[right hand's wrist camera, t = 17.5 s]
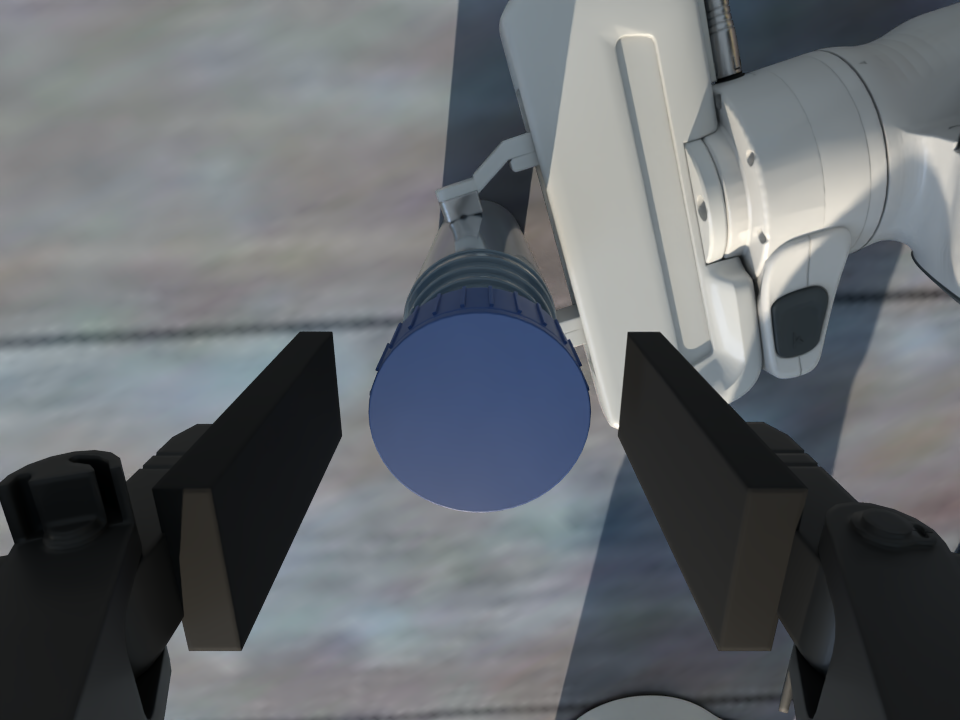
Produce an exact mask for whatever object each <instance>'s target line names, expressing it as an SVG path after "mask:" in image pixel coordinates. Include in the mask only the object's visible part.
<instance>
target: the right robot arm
mask: <svg viewBox="0 0 960 720" xmlns="http://www.w3.org/2000/svg"><path fill="white" fill-rule="evenodd" d="M341 437H342V429H341V418H340V408H339V397H338V386H337V376H336V365H335V354H334V343H333V333H332V332H299V333H298V334H297V335H296V336H295V337H294V339H293V340H292V341H291V342H290V343H289V344H288V345H287V346H286V347H285V348H284V349H283V350H282V351H281V352H280V353H279V354H278V355H277V356H276V358H275V359H274V360H273V361H272V362H271V363H270V364H269V365H268V366H267V367H266V368H265V369H264V370H263V371H262V372H261V373H260V374H259V376H258V377H257V378H256V379H255V380H254V381H253V382H252V383H251V384H250V385H249V386H248V387H247V388H246V389H245V390H244V391H243V392H242V394H241V395H240V396H239V397H238V398H237V399H236V400H235V401H234V402H233V403H232V404H231V405H230V406H229V407H228V408H227V409H226V410H225V412H224V413H223V414H222V415H221V416H220V417H219V418H218V419H217V420H216V421H215V422H214V423H213V424H196V425H194V426H193V427H191V428H189V429H187V430H185V431H183V432H181V433H179V434H177V435H176V436H174V437H172V438H171V439H170V440H169V441H168V442H167V443H166V444H165V445H164V446H163V447H162V448H161V449H160V450H159V451H158V452H157V453H156V456H152V457H151V458H150V459H149V460H148V461H147V462H146V463H145V464H144V465H143V469H139V470H138V471H137V472H136V473H135V474H134V475H133V476H132V477H131V478H129V479H128V480H127V481H126V480H125V476H124V472H123V468H122V464H121V460H120V458H119V457H117V456H116V455H114V454H113V453H111V452H105V451H98V450H90V451H76V452H70V453H65V454H61V455H56V456H52V457H48V458H46V459H43V460H40V461H37V462H34V463H32V464H29V465H27V466H25V467H23V468H21V469H19V470H17V471H15V472H14V473H12V474H10V475H8V476H7V477H6V478H5V479H4V480H2V481H1V482H0V502H1V505H2V508H3V511H4V514H5V517H6V520H7V523H8V526H9V529H10V532H11V534H12V537H13V540H14V543H15V544H14V546H13V547H12V549H11V551H10V552H9V554H8V555H6V556H1V557H0V720H164V716H165V710H166V703H167V696H168V690H169V683H170V676H171V665H170V658H169V654H168V650H167V646H166V645H167V643H168V641H169V640H170V638H171V637H172V635H173V633H174V632H175V630H176V629H177V627H178V625H179V624H180V622H181V621H182V623H183V627H184V631H185V636H186V640H187V645H188V649H189V651H242V649H243V646H244V644H245V642H246V640H247V638H248V636H249V634H250V631H251V629H252V627H253V625H254V623H255V621H256V619H257V617H258V614H259V612H260V610H261V608H262V606H263V604H264V602H265V599H266V597H267V595H268V593H269V591H270V589H271V587H272V584H273V582H274V580H275V578H276V576H277V574H278V572H279V570H280V567H281V565H282V563H283V561H284V559H285V557H286V555H287V552H288V550H289V548H290V546H291V544H292V542H293V540H294V537H295V535H296V533H297V531H298V529H299V527H300V525H301V523H302V520H303V518H304V516H305V514H306V512H307V510H308V508H309V505H310V503H311V501H312V499H313V497H314V495H315V493H316V490H317V488H318V486H319V484H320V482H321V480H322V478H323V476H324V473H325V471H326V469H327V467H328V465H329V463H330V461H331V458H332V456H333V454H334V452H335V450H336V448H337V446H338V444H339V441H340V439H341ZM618 437H619V439H620V441H621V444H622V446H623V448H624V450H625V452H626V454H627V456H628V458H629V461H630V463H631V465H632V467H633V469H634V471H635V473H636V476H637V478H638V480H639V482H640V484H641V486H642V488H643V490H644V493H645V495H646V497H647V499H648V501H649V503H650V505H651V508H652V510H653V512H654V514H655V516H656V518H657V520H658V523H659V525H660V527H661V529H662V531H663V533H664V535H665V537H666V540H667V542H668V544H669V546H670V548H671V550H672V552H673V555H674V557H675V559H676V561H677V563H678V565H679V567H680V570H681V572H682V574H683V576H684V578H685V580H686V582H687V584H688V587H689V589H690V591H691V593H692V595H693V597H694V599H695V602H696V604H697V606H698V608H699V610H700V612H701V614H702V617H703V619H704V621H705V623H706V625H707V627H708V629H709V631H710V634H711V636H712V638H713V640H714V642H715V644H716V646H717V649H718V651H771V649H772V645H773V640H774V636H775V631H776V627H777V623H778V618H779V619H780V621H781V622H782V624H783V625H784V627H785V629H786V630H787V632H788V633H789V635H790V637H791V638H792V640H793V641H794V646H793V650H792V654H791V658H790V662H789V666H788V670H787V674H786V678H785V682H784V686H783V690H782V695H781V699H780V706H779V711H781V712H784V713H788V710H789V706H790V702H791V700H792V699H793V701H794V708H795V715H796V720H960V554H958V553H953V552H951V551H950V550H949V548H948V546H947V544H946V543H945V542H944V541H943V540H942V538H941V537H940V536H939V535H938V534H937V533H936V532H935V531H934V530H933V529H931V528H930V527H928V526H927V525H925V524H924V523H922V522H920V521H919V520H917V519H916V518H913V517H911V516H909V515H906V514H904V513H902V512H899V511H897V510H895V509H891V508H887V507H883V506H880V505H876V504H872V503H860V502H858V501H857V500H855V499H854V498H853V497H852V496H851V495H850V494H849V493H848V492H847V491H846V490H845V489H844V488H843V487H842V486H841V485H840V484H839V483H838V482H837V481H836V480H835V479H833V478H832V477H831V476H830V475H829V474H828V473H827V472H826V471H825V470H824V469H823V468H822V467H818V465H817V462H816V461H815V460H814V459H812V458H811V457H810V456H809V455H808V454H807V453H804V450H803V449H802V448H801V447H800V446H799V445H798V444H797V443H796V442H795V441H794V440H793V439H792V438H790V437H789V436H788V435H787V434H785V433H783V432H781V431H779V430H777V429H775V428H774V427H772V426H770V425H768V424H766V423H764V422H745V421H744V420H743V419H742V418H741V417H740V416H739V415H738V414H737V413H736V412H735V410H734V409H733V408H732V407H731V406H730V405H729V404H728V403H727V402H726V401H725V400H724V399H723V398H722V397H721V396H720V395H719V394H718V392H717V391H716V390H715V389H714V388H713V387H712V386H711V385H710V384H709V383H708V382H707V381H706V380H705V379H704V378H703V377H702V376H701V374H700V373H699V372H698V371H697V370H696V369H695V368H694V367H693V366H692V365H691V364H690V363H689V362H688V361H687V360H686V359H685V358H684V356H683V355H682V354H681V353H680V352H679V351H678V350H677V349H676V348H675V347H674V346H673V345H672V344H671V343H670V342H669V341H668V340H667V339H666V337H665V336H664V335H663V334H662V333H661V332H628V333H627V343H626V354H625V365H624V376H623V386H622V397H621V408H620V418H619V429H618Z"/></svg>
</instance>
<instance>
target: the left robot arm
mask: <svg viewBox="0 0 960 720" xmlns="http://www.w3.org/2000/svg"><path fill="white" fill-rule="evenodd" d="M728 5H729V0H509V1H508V3H507V5H506V7H505V9H504V11H503V13H502V16H501V19H500V22H499V33H500V37H501V41H502V45H503V49H504V52H505V56H506V60H507V63H508V67H509V71H510V75H511V78H512V82H513V86H514V89H515V93H516V97H517V101H518V104H519V108H520V112H521V115H522V119H523V123H524V126H525V130H526V133H524V134H521V135H518V136H515V137H512V138H509V139H507V140H504V141H501V143H500V144H499V145H498V146H497V147H496V148H495V149H494V151H493V152H492V153H491V154H490V155H489V156H488V158H487V159H486V160H485V161H484V162H483V163H482V164H481V166H480V167H479V168H478V169H477V170H476V171H475V172H474V174H473V177H472V178H469V179H466V180H463V181H460V182H457V183H454V184H451V185H448V186H445V187H442V188H440V189H437V190H436V191H435V193H436V196H437V199H438V202H439V205H440V208H441V210H442V213H443V216H444V219H445V222H446V223H449V222H453V221H456V220H458V219H460V218H461V216H462V215H466V216H470V215H475V214H478V213H481V212H483V207H482V204H481V200H480V197H479V193H480V191H481V190H482V189H483V188H484V187H485V186H486V185H487V184H488V182H489V181H490V180H491V179H492V178H493V177H494V176H495V175H496V174H497V172H498V171H499V170H500V169H501V168H502V167H503V166H504V165H505V163H506V162H507V161H508V162H509V166H510V169H511V170H513V171H514V172H519V171H522V170H525V169H528V168H531V167H536V171H537V175H538V178H539V182H540V186H541V189H542V193H543V197H544V201H545V204H546V208H547V212H548V215H549V219H550V223H551V227H552V230H553V234H554V238H555V241H556V245H557V249H558V252H559V256H560V260H561V264H562V267H563V271H564V275H565V278H566V282H567V286H568V290H569V293H570V297H571V301H572V304H573V305H572V306H569V307H565V308H562V309H559V310H556V319H557V320H558V321H559V324H560V326H561V328H562V331H563V333H564V334H565V336H566V338H567V340H568V339H570V340H571V342H572V344H573V347H576V346H580V345H584V349H585V353H586V356H587V360H588V364H589V367H590V371H591V375H592V378H593V382H594V386H595V390H596V393H597V397H598V400H599V403H600V406H601V408H602V411H603V413H604V415H605V417H606V419H607V421H608V423H609V424H610V425H611V426H612V427H614V428H616V429H619V418H620V408H621V397H622V386H623V376H624V365H625V354H626V343H627V333H628V332H661V333H662V334H663V335H664V336H665V337H666V339H667V340H668V341H669V342H670V343H671V344H672V345H673V346H674V347H675V348H676V349H677V350H678V351H679V352H680V353H681V354H682V355H683V356H684V358H685V359H686V360H687V361H688V362H689V363H690V364H691V365H692V366H693V367H694V368H695V369H696V370H697V371H698V372H699V373H700V374H701V376H702V377H703V378H704V379H705V380H706V381H707V382H708V383H709V384H710V385H711V386H712V387H713V388H714V389H715V390H716V391H717V392H718V394H719V395H720V396H721V397H722V398H723V399H724V400H725V401H726V402H727V403H728V404H730V403H732V402H734V401H735V400H737V399H739V398H740V397H742V396H743V395H744V394H746V393H747V392H748V391H749V390H750V389H751V388H752V387H753V386H754V384H755V383H756V381H757V379H758V377H759V375H760V372H761V368H762V369H763V370H765V371H766V372H768V373H770V374H771V375H773V376H775V377H777V378H780V379H788V378H794V377H798V376H801V375H804V374H807V373H809V372H810V371H812V370H813V369H814V368H815V367H816V366H817V364H818V362H819V360H820V357H821V353H822V349H823V345H824V340H825V336H826V331H827V327H828V322H829V318H830V314H831V310H832V306H833V302H834V298H835V295H836V291H837V288H838V284H839V281H840V278H841V275H842V272H843V269H844V266H845V263H846V261H847V258H848V255H849V254H850V253H854V252H856V251H858V250H860V249H862V248H864V247H867V246H869V245H871V244H873V243H876V242H879V241H885V240H892V241H898V242H902V243H904V244H906V245H908V246H909V247H910V248H911V249H912V252H911V256H912V259H913V261H914V262H915V264H916V265H917V266H918V267H919V268H920V269H921V270H922V271H923V272H924V273H925V274H926V275H927V276H928V277H929V278H930V279H931V280H932V281H933V282H934V283H936V284H937V285H938V286H939V287H940V288H941V289H942V290H943V291H944V292H946V293H947V294H948V295H949V296H950V297H952V298H953V299H954V300H955V301H956V302H958V303H959V304H960V2H959V3H956V4H953V5H950V6H946V7H943V8H940V9H937V10H934V11H931V12H928V13H925V14H922V15H920V16H917V17H915V18H912V19H910V20H908V21H906V22H904V23H902V24H901V25H899V26H897V27H895V28H894V29H893V30H891V31H890V32H888V33H887V34H885V35H884V36H882V37H880V38H879V39H877V40H874V41H872V42H870V43H867V44H863V45H858V46H841V47H829V48H823V49H818V50H815V51H812V52H809V53H806V54H803V55H800V56H797V57H794V58H791V59H788V60H785V61H782V62H779V63H776V64H773V65H770V66H767V67H764V68H761V69H758V70H755V71H752V72H749V73H746V74H745V73H742V69H741V61H740V56H739V49H738V42H737V36H736V31H735V27H733V25H734V23H733V20H731V19H732V16H731V13H730V6H728ZM714 81H717V82H715V84H714V85H712V84H711V83H712V82H714ZM577 720H722V719H720V718H718V717H716V716H714V715H713V714H711V713H710V712H708V711H707V710H705V709H704V708H702V707H700V706H698V705H696V704H694V703H691V702H689V701H685V700H682V699H678V698H674V697H667V696H656V695H646V696H634V697H627V698H622V699H618V700H614V701H611V702H608V703H605V704H603V705H600V706H598V707H596V708H594V709H592V710H590V711H588V712H587V713H585V714H583V715H582V716H580V717H579V718H578V719H577Z"/></svg>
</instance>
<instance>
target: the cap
mask: <svg viewBox="0 0 960 720" xmlns="http://www.w3.org/2000/svg"><path fill="white" fill-rule="evenodd" d="M580 366H582V364H581V362H580V360H579V358H578V355H577V353H576V351H575V349H574V347H573V344H572V342H571V340H570V339H568V340H567V338H566V336H565V334H564V333H563V331H562V328H561V326H560V324H559V321H558V320H557V319H555V320H554V319H553V318H552V317H551V316H550V315H549V314H548V313H547V312H546V311H544V310H543V309H542V308H541V305H540V304H539V303H538V302H537V303H536V304H535V303H533V302H532V301H530V300H528V299H526V298H524V297H522V296H520V295H518V292H516V291H514V293H512V292H508V291H504V290H501V289H494V288H492V286H488V288H466V286H463V287H462V289H459V290H455V291H451V292H448V293H445V294H442V295H441V293H439V294H437V297H435V298H433V299H432V300H430V301H428V302H426V303H425V304H423V305H422V306H420V307H419V306H416V307H415V310H414V312H413V313H412V314H411V315H410V316H409V317H408V318H407V319H406V320H405V321H404V322H403V324H402V323H399V324H398V326H397V329H396V331H395V333H394V335H393V338H392V340H391V342H390V344H389V343H387V346H386V348H385V350H384V352H383V354H382V357H381V359H380V361H379V363H378V365H377V367H376V371H378V372H377V375H376V377H375V380H374V383H373V385H372V389H371V391H370V399H369V424H370V429H371V434H372V438H373V441H374V443H375V446H376V449H377V451H378V453H379V455H380V457H381V458H382V460H383V462H384V463H385V465H386V466H387V468H388V469H389V470H390V472H391V473H392V474H393V475H394V476H395V477H396V478H397V479H398V480H399V481H400V482H401V483H402V484H403V485H404V486H406V487H407V488H408V489H409V490H410V491H412V492H414V493H415V494H417V495H418V496H420V497H421V498H424V499H426V500H428V501H430V502H432V503H434V504H437V505H440V506H443V507H445V508H449V509H454V510H458V511H466V512H493V511H501V510H506V509H510V508H514V507H517V506H520V505H523V504H526V503H528V502H530V501H532V500H534V499H536V498H538V497H540V496H541V495H543V494H544V493H546V492H547V491H549V490H550V489H552V488H553V487H554V486H555V485H556V484H558V483H559V482H560V481H561V480H562V479H563V478H564V477H565V476H566V474H567V473H568V472H569V471H570V470H571V468H572V467H573V465H574V464H575V463H576V461H577V459H578V457H579V456H580V454H581V452H582V450H583V447H584V445H585V442H586V439H587V436H588V431H589V427H590V417H591V406H590V397H589V392H588V391H589V386H588V384H587V382H586V380H585V377H584V375H583V373H582V371H581V368H580Z"/></svg>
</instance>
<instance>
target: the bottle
mask: <svg viewBox="0 0 960 720" xmlns="http://www.w3.org/2000/svg"><path fill="white" fill-rule="evenodd" d="M481 204H482V207H483V212H481V213H478V214H475V215H470V216H466V215H462V216H461V218H460V219H458V220H456V221H453V222H449V223H446V222H445V219H444V221H443V222H442V224H441V227H440V229H439V231H438V233H437V235H436V237H435V240H434V242H433V244H432V246H431V248H430V250H429V252H428V255H427V257H426V259H425V261H424V263H423V265H422V267H421V270H420V272H419V274H418V276H417V278H416V280H415V283H414V285H413V287H412V289H411V291H410V293H409V296H408V298H407V301H406V305H405V309H404V316H403V322H404V321H405V320H406V319H407V318H408V317H409V316H410V315H411V314H412V313H413V312H414V310H415V307H416V306H419V307H420V306H422V305H423V304H425V303H426V302H428V301H430V300H432V299H433V298H435V297H437V294H439V293H441V295H442V294H445V293H448V292H451V291H455V290H459V289H462V287H463V286H466V288H488V286H492V288H494V289H501V290H504V291H508V292H512V293H514V291H516V292H518V295H520V296H522V297H524V298H526V299H528V300H530V301H532V302H533V303H535V304H536V303H537V302H538V303H539V304H540V305H541V308H542V309H543V310H544V311H546V312H547V313H548V314H549V315H550V316H551V317H552V318H553V319H554V320H555V319H556V311H555V305H554V302H553V299H552V296H551V294H550V292H549V289H548V287H547V285H546V283H545V281H544V279H543V276H542V274H541V272H540V270H539V268H538V266H537V263H536V261H535V259H534V257H533V255H532V253H531V250H530V248H529V246H528V244H527V242H526V240H525V237H524V235H523V233H522V231H521V229H520V227H519V224H518V222H517V221H516V219H515V218H514V216H513V215H512V214H511V213H510V212H509V211H508V210H507V209H506V208H504V207H503V206H501V205H499V204H497V203H495V202H492V201H488V200H481Z"/></svg>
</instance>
